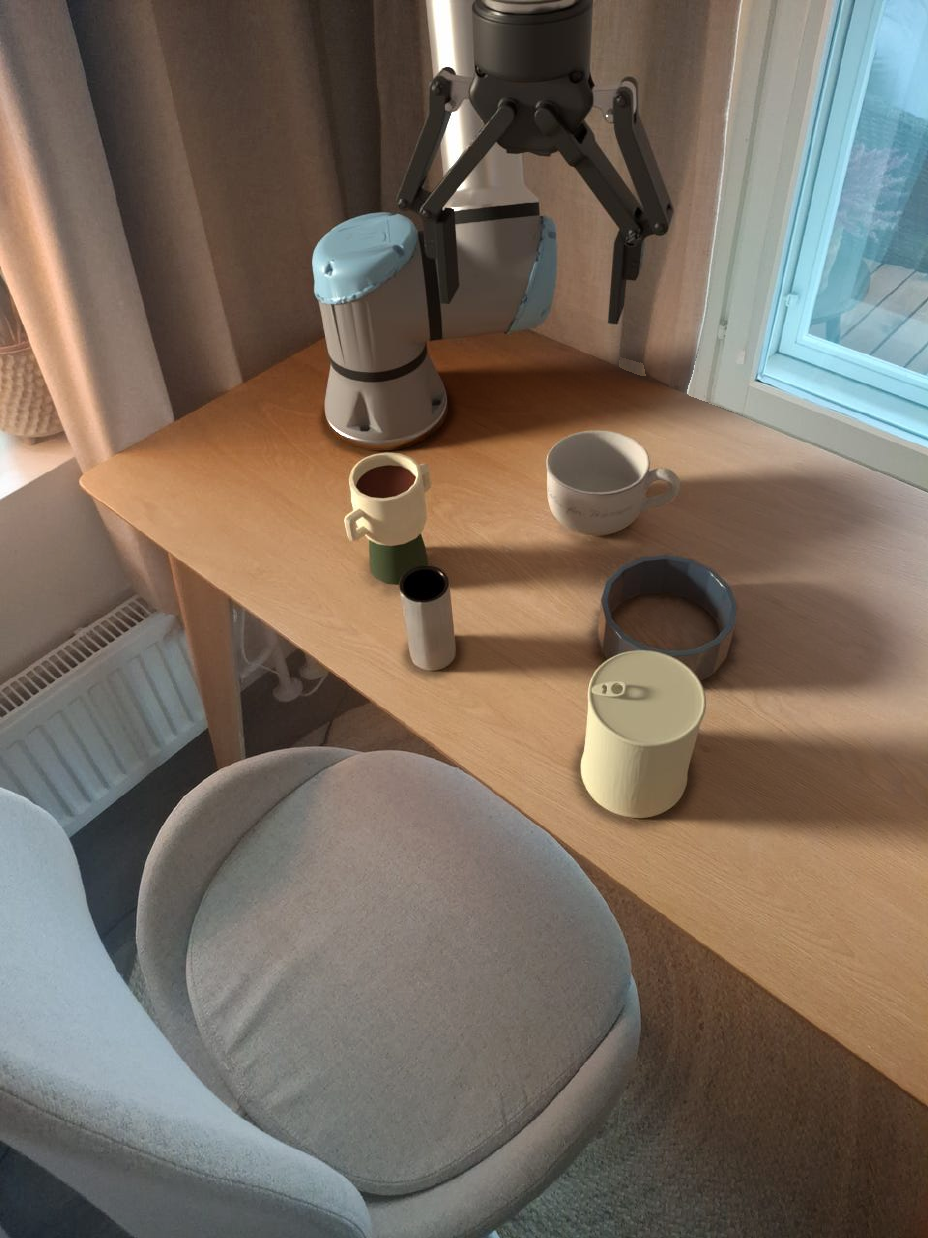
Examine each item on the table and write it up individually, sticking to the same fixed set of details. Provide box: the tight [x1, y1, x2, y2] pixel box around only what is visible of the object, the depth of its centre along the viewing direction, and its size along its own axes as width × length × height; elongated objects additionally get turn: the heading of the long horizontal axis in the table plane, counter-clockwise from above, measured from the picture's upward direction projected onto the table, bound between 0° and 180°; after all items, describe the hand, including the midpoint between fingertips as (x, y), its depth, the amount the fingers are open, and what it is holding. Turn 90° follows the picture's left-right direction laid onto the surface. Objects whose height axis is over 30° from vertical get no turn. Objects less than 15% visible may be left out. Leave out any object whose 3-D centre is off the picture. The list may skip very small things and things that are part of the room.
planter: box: [398, 564, 457, 671], centre depth 85 cm, size 4×4×10 cm
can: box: [580, 650, 707, 819], centre depth 75 cm, size 9×9×12 cm
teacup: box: [545, 429, 681, 537], centre depth 97 cm, size 14×11×8 cm
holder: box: [597, 554, 739, 682], centre depth 87 cm, size 12×12×5 cm
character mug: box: [344, 451, 432, 586], centre depth 92 cm, size 11×7×13 cm, turn 135°
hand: (531, 304), depth 72 cm, fingers open, 13 cm apart
